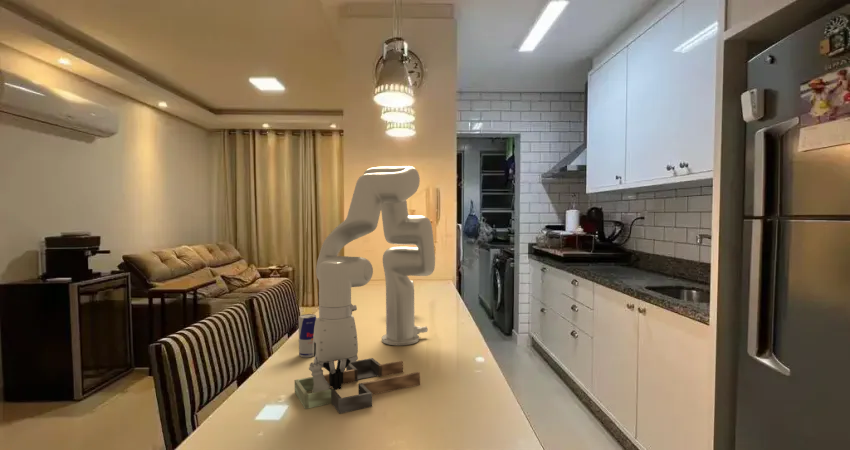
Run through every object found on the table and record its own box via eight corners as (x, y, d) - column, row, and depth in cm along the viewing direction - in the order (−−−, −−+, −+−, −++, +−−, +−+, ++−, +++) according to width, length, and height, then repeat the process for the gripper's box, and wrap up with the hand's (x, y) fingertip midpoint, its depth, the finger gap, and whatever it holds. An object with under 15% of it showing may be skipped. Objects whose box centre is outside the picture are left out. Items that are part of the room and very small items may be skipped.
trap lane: (393, 364, 129) (392, 354, 129) (431, 393, 110) (431, 380, 109) (289, 383, 116) (289, 372, 116) (311, 419, 96) (311, 405, 96)
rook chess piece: (315, 391, 110) (307, 360, 109) (333, 387, 110) (325, 357, 109) (311, 401, 106) (303, 369, 105) (330, 397, 106) (322, 365, 105)
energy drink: (312, 358, 136) (311, 318, 135) (295, 357, 137) (295, 317, 136) (320, 352, 141) (319, 314, 140) (304, 351, 142) (303, 313, 141)
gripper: (359, 305, 116) (360, 377, 116) (300, 312, 109) (301, 388, 109) (370, 311, 109) (371, 387, 110) (308, 319, 102) (309, 399, 103)
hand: (336, 387), depth 110 cm, fingers closed
